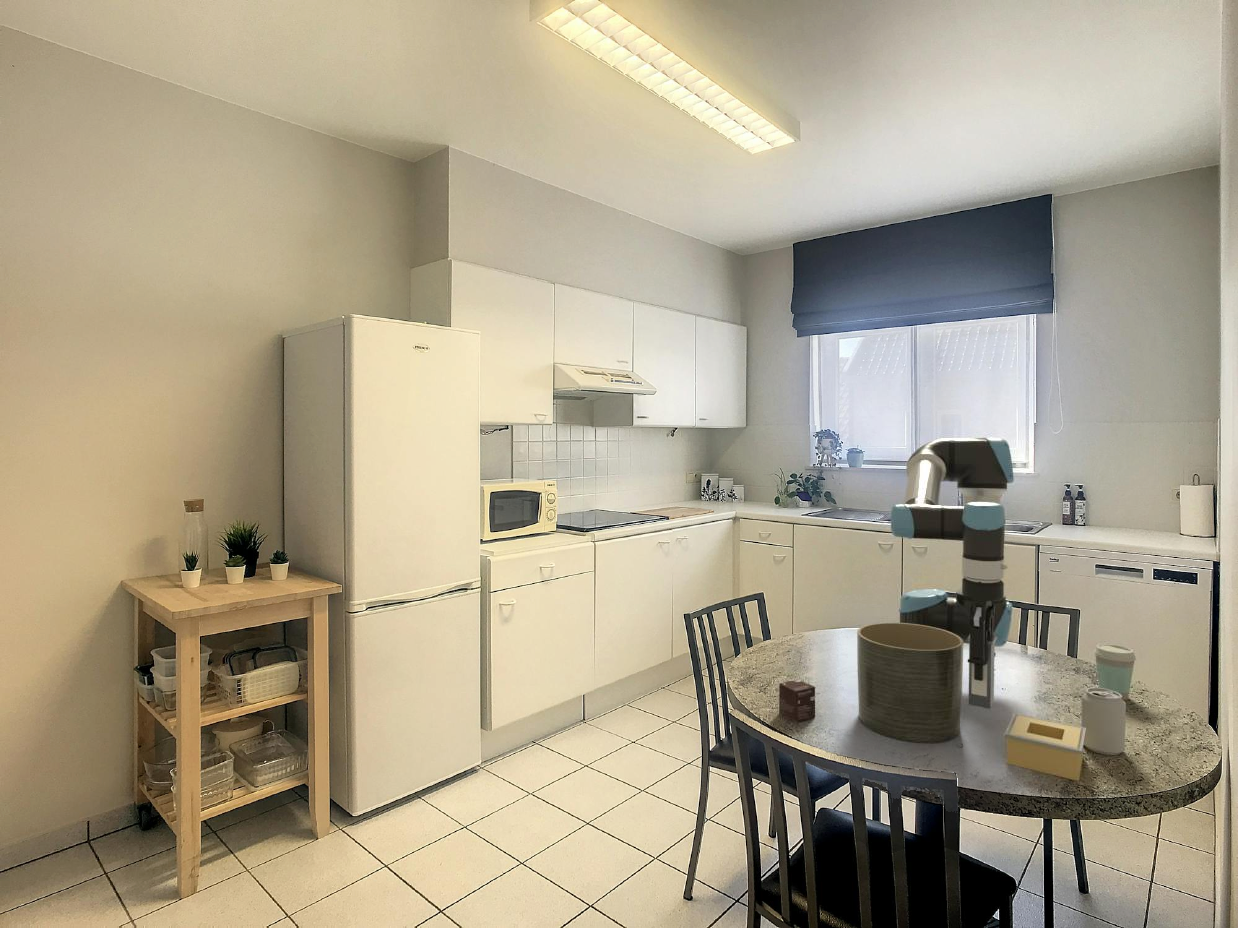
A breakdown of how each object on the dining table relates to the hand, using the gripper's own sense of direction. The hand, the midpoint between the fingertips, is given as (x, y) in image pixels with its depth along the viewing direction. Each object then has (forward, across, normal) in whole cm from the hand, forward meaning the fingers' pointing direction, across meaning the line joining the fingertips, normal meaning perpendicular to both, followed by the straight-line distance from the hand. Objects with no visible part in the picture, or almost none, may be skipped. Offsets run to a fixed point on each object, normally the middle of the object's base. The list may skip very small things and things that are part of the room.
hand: (981, 690), depth 142 cm
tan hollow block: (+13, +3, -11) cm, 17 cm away
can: (+13, +16, -20) cm, 29 cm away
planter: (+13, +6, +16) cm, 22 cm away
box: (+13, -5, +38) cm, 40 cm away
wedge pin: (+3, 0, 0) cm, 3 cm away
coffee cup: (+14, +53, -21) cm, 59 cm away
